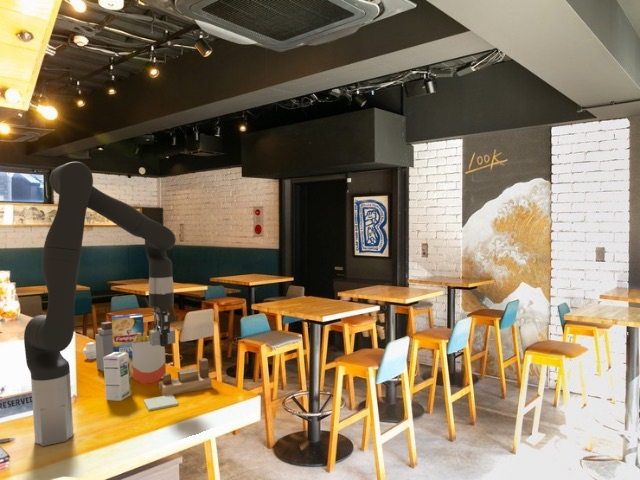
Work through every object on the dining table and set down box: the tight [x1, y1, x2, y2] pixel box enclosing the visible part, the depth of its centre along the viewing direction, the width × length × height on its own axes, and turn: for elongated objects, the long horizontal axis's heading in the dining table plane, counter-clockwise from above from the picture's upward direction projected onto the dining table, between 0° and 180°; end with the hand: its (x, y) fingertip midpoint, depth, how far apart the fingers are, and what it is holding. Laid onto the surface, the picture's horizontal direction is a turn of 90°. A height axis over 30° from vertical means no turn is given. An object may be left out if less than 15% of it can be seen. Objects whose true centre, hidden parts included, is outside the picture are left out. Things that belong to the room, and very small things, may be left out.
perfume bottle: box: [94, 321, 113, 372], centre depth 199 cm, size 7×7×18 cm
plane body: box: [158, 357, 213, 396], centre depth 173 cm, size 7×16×9 cm, turn 118°
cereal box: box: [110, 312, 145, 378], centre depth 191 cm, size 7×11×22 cm, turn 112°
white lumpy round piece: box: [82, 341, 96, 360], centre depth 214 cm, size 6×6×7 cm
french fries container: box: [132, 332, 167, 384], centre depth 183 cm, size 5×11×18 cm, turn 113°
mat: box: [143, 394, 180, 412], centre depth 161 cm, size 9×9×1 cm
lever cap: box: [148, 327, 176, 346], centre depth 162 cm, size 5×7×4 cm
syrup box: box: [103, 352, 132, 402], centre depth 166 cm, size 6×6×14 cm
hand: (162, 344), depth 162 cm, fingers closed on lever cap, 5 cm apart
